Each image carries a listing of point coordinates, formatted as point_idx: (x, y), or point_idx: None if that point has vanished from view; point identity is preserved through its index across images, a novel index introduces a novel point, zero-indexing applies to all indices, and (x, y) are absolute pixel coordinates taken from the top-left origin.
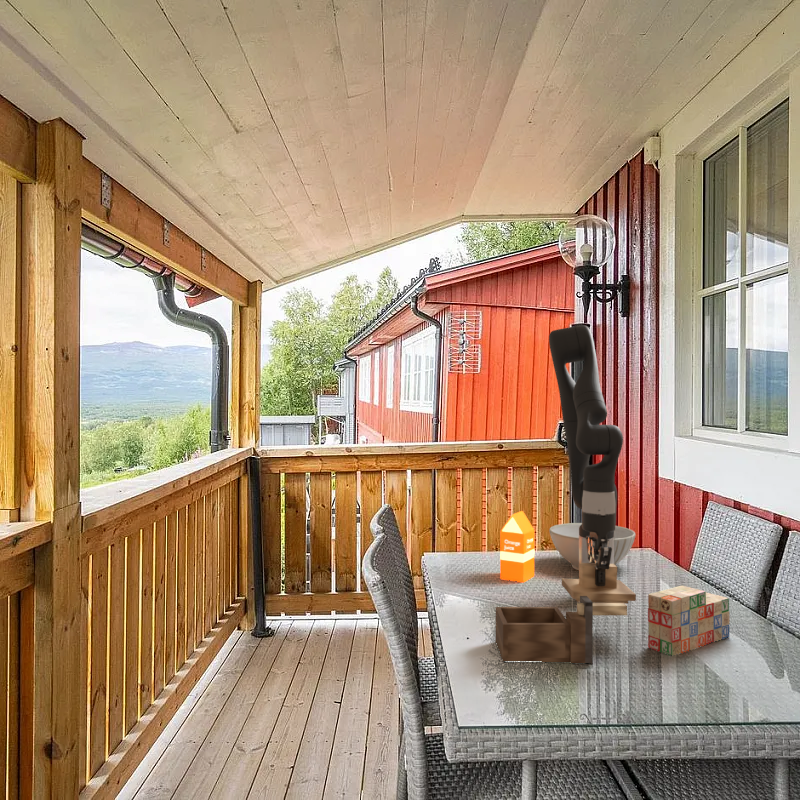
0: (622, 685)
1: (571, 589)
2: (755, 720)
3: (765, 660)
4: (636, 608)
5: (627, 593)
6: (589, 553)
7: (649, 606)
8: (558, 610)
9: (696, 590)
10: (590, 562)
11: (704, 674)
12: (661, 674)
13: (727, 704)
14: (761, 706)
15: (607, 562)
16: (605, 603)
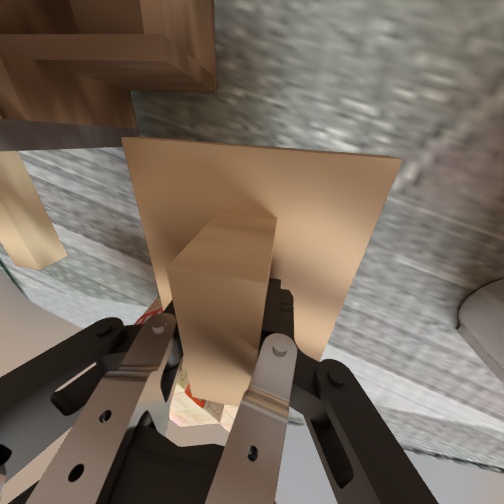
0: (30, 165)
1: (172, 144)
2: (13, 274)
3: None
4: (397, 341)
5: None
6: (240, 416)
7: None
8: (119, 52)
9: (184, 421)
10: (273, 347)
11: (115, 290)
12: (97, 242)
13: (38, 270)
14: (50, 296)
15: (73, 388)
16: (2, 214)
